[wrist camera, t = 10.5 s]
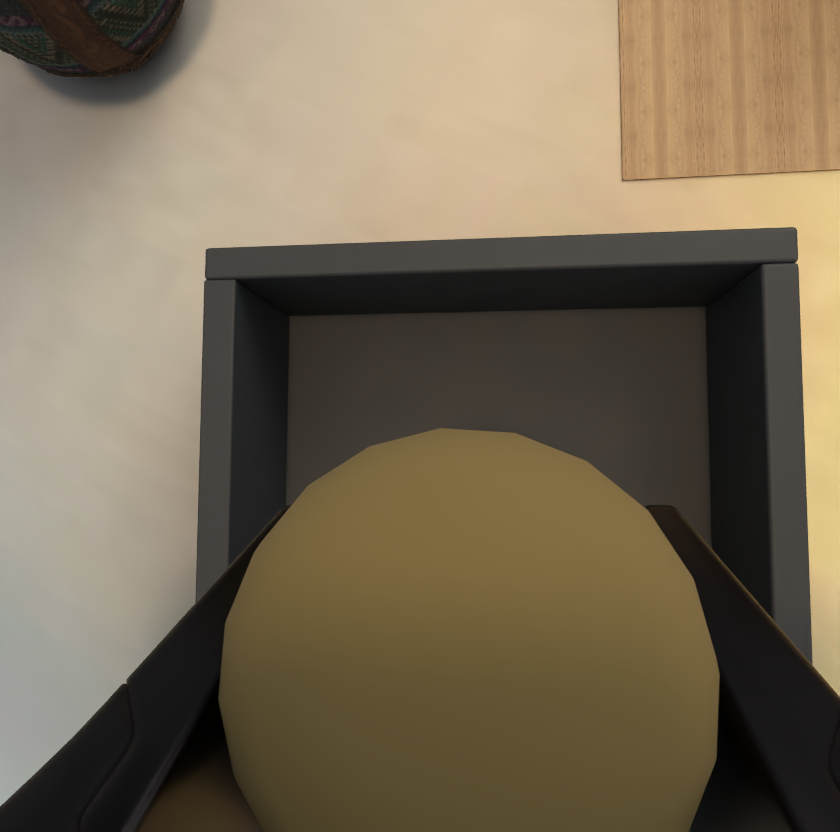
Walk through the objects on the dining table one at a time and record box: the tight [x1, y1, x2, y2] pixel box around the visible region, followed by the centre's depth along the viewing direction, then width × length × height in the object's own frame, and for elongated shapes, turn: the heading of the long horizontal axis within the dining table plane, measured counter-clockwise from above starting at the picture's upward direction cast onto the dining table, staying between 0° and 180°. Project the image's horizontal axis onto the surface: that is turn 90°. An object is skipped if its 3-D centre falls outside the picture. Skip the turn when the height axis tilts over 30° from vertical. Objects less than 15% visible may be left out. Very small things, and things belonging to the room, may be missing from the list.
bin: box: [196, 227, 812, 832], centre depth 18 cm, size 15×14×5 cm
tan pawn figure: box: [218, 428, 720, 832], centre depth 11 cm, size 6×6×11 cm
